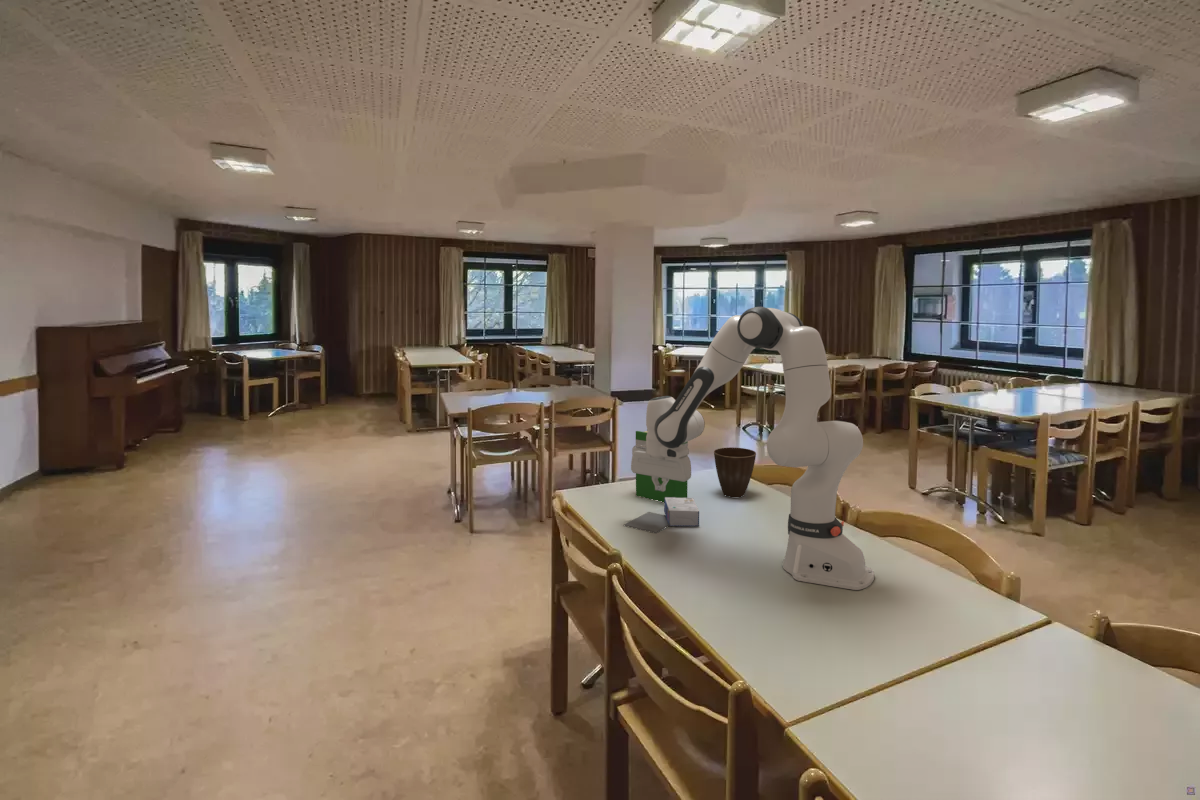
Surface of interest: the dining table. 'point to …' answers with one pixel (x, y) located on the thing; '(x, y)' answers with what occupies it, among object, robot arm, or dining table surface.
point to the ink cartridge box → (681, 511)
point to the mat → (649, 522)
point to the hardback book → (647, 486)
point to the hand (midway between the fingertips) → (660, 490)
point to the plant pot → (734, 469)
